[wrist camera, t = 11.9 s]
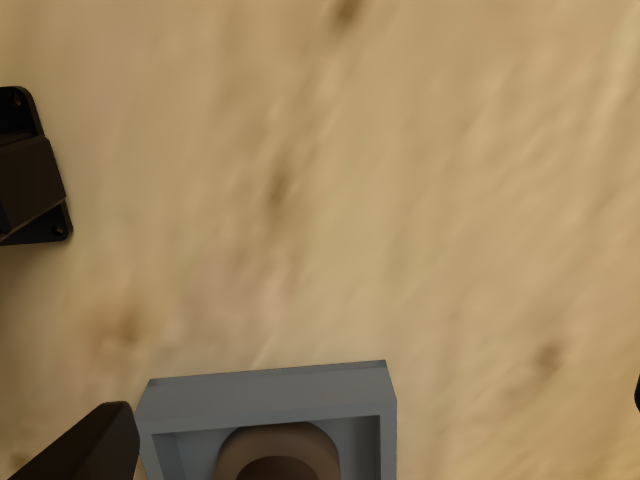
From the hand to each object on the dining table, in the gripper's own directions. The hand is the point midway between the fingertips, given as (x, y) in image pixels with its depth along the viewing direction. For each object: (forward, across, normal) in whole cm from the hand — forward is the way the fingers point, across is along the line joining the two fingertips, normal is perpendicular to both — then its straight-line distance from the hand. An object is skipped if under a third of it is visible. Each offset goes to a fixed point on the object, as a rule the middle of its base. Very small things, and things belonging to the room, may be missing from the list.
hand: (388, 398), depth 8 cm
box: (+13, +4, +16) cm, 21 cm away
